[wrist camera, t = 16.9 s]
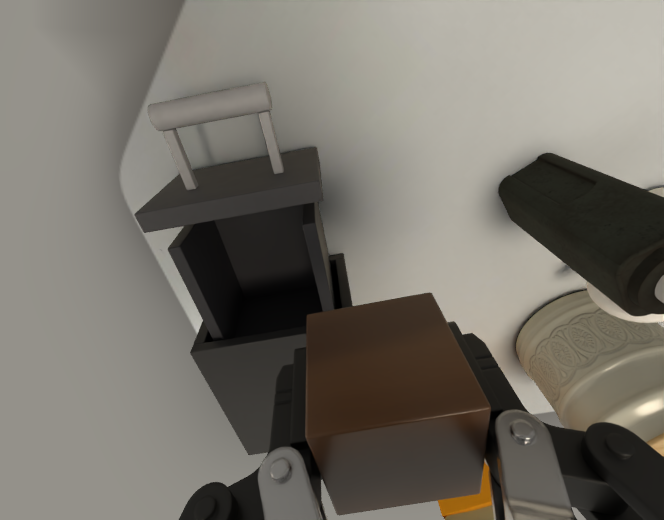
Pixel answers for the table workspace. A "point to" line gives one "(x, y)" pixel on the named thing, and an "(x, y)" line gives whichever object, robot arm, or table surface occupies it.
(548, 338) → the jar
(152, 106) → the basket
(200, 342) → the fryer
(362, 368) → the block
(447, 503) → the orange juice
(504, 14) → the table surface
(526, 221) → the candle
